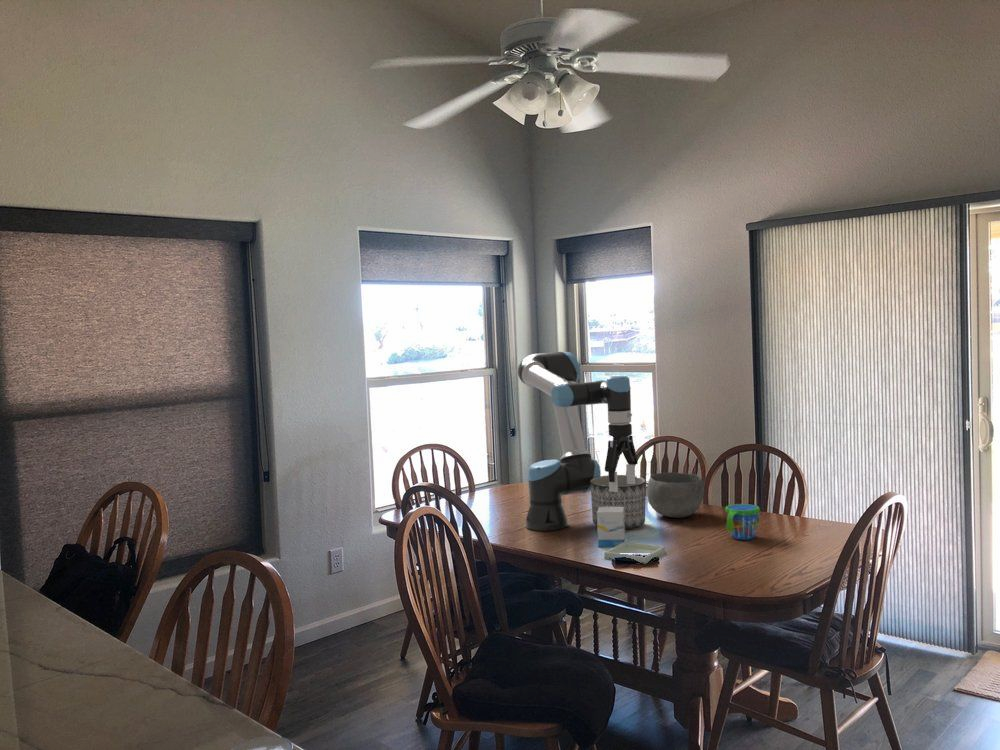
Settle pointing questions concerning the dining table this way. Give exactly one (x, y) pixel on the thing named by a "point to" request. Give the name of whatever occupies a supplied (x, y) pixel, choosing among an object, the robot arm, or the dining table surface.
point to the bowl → (675, 493)
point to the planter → (620, 498)
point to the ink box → (610, 526)
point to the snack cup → (742, 520)
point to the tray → (635, 551)
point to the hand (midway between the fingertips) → (622, 487)
